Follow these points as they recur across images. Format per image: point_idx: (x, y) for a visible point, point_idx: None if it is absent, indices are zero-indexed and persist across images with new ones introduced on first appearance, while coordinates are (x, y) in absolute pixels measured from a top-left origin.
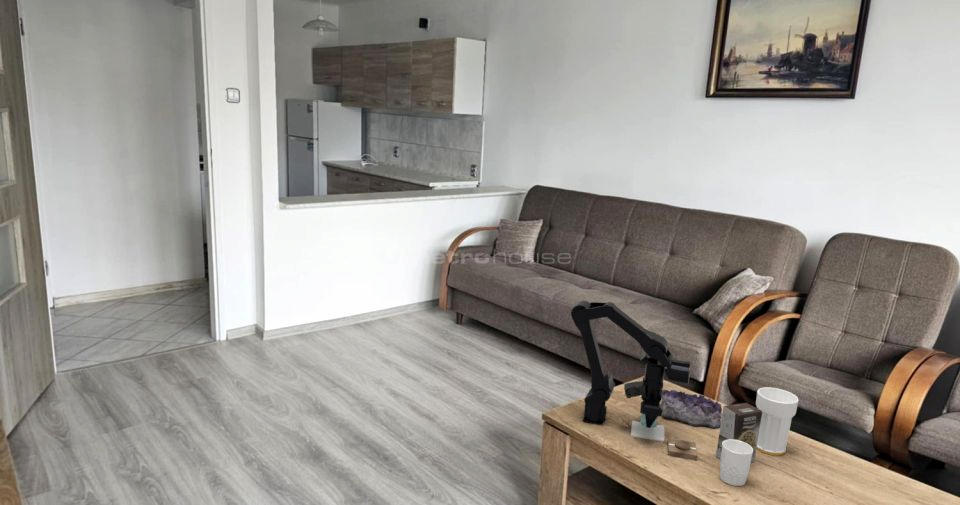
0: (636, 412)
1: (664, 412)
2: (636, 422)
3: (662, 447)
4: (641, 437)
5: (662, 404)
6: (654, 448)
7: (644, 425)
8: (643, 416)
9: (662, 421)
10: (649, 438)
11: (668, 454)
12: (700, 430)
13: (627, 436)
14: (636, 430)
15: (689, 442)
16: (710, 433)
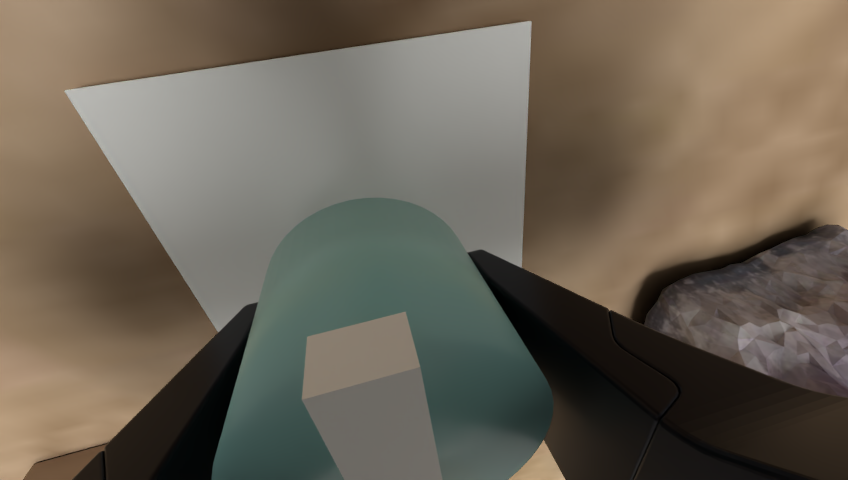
0: (761, 35)
1: (693, 319)
2: (498, 92)
3: (142, 402)
4: (155, 225)
5: (836, 270)
6: (46, 370)
7: (265, 278)
8: (249, 355)
9: (606, 283)
10: (198, 298)
11: (29, 474)
12: (544, 444)
13: (12, 39)
14: (278, 137)
15: None
16: (527, 473)
